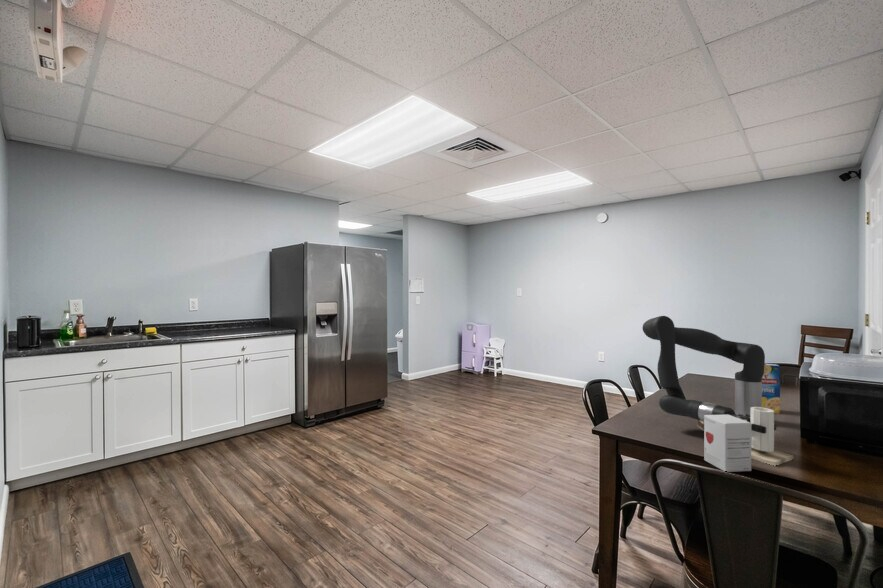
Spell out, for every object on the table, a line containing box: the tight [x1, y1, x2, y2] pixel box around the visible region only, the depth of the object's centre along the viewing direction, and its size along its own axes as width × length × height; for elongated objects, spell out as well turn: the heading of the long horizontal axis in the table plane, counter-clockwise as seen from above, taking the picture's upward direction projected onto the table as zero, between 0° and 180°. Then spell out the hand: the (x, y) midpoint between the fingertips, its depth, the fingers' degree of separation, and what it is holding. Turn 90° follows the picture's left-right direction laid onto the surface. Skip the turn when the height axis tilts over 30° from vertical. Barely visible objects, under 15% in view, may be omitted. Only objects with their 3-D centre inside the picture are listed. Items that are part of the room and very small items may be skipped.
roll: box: [750, 407, 775, 452], centre depth 131 cm, size 6×6×13 cm
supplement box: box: [703, 414, 752, 473], centre depth 124 cm, size 9×9×15 cm
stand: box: [751, 447, 794, 467], centre depth 131 cm, size 12×12×10 cm
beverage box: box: [762, 362, 781, 414], centre depth 184 cm, size 7×11×22 cm, turn 71°
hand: (770, 428), depth 129 cm, fingers closed on roll, 6 cm apart
